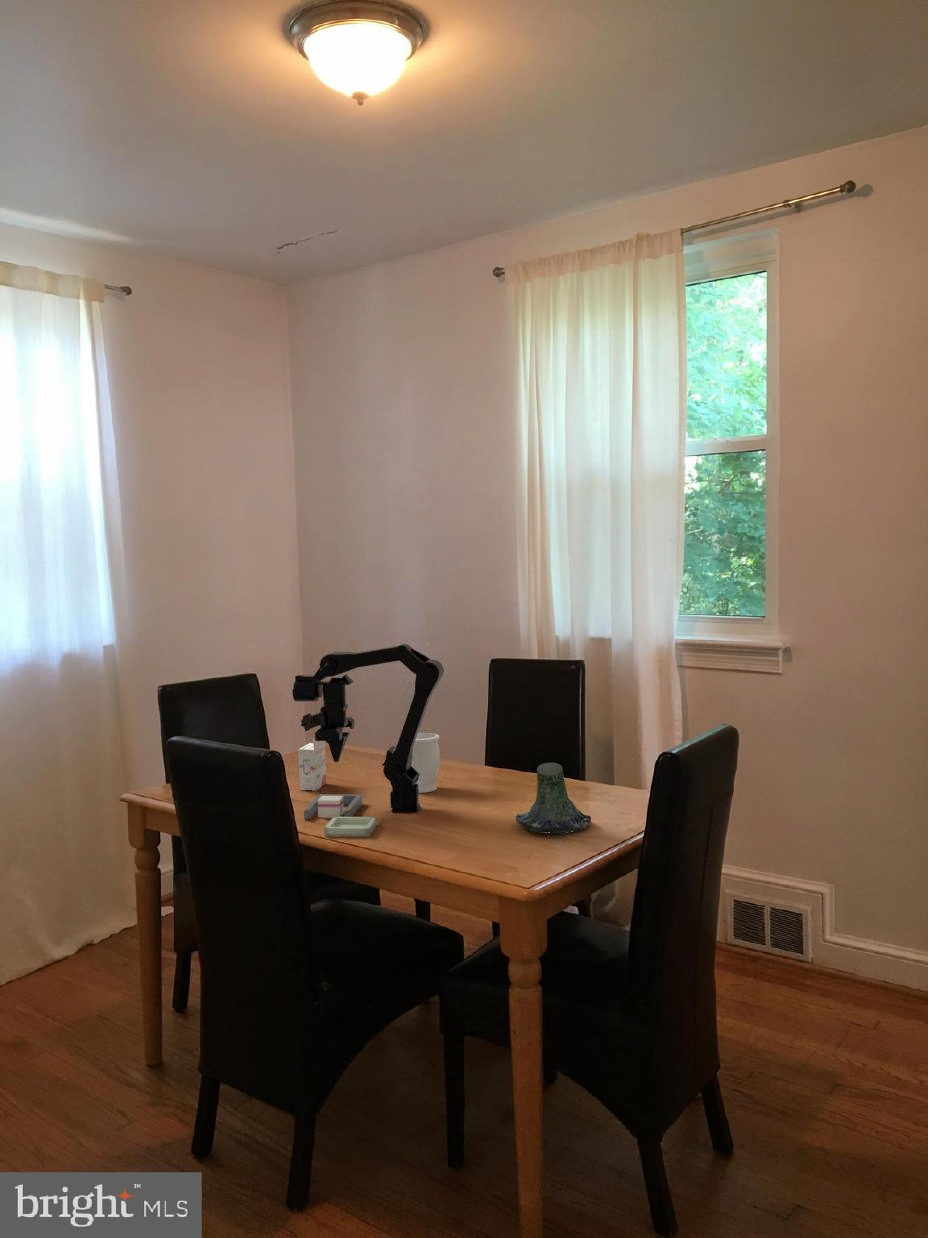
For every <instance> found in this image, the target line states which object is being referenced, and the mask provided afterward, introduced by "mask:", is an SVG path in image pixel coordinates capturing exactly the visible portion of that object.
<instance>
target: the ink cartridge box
mask: <svg viewBox="0 0 928 1238" xmlns="http://www.w3.org/2000/svg"><path fill="white" fill-rule="evenodd" d="M297 751H298V768H299V785H300V786H299V788H300V789H299V790H300V791H306V790H312V791H313V792H315V791H318V790H319V789H321V788H322V787H323V786H324V785H326V783H327V779H326V778H327V769H326V765H327V764H326V744H325V741H315V737H313V738H312V742H309V743H307V744H305V745H304V746H301V748H298V750H297ZM312 791H311V792H312Z"/></svg>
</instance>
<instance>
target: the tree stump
mask: <svg viewBox="0 0 928 1238" xmlns="http://www.w3.org/2000/svg"><path fill="white" fill-rule="evenodd" d="M565 782H566V780H565V777H564V769H563V766H562V765H561V764H559V763H557V762H546V763H545V762H544V763H541V764H540V765H538V766H537V769H536V783H537V784H536V796H535V801H534V802H533V804H532V805H531V807H530V809H529V811H528V812H526V813H522V814H521V813H517V814H516V816H515V820H516V822H517V823H518V824H519V825H520V826H521V827H522V828H523V827H524V828H523V829H525V828H526V829H525V830H527V831H528V830H529V832H530V831H531V833H532V832H547V833H548V832H550V833H566V832H571V831H577V832H579V831H578V830H581V829H584V830H585V828H586V827H588V828H589V825H590V824H591V823H592V816H591V815H588V814H584V813H583V812H581V810H579V809H578V808H577V807H576V805H575V803H574V802H573V801H572V800H571V799H570V798H569V795H568V792H567V791H568V790H567V786H566V783H565ZM586 829H587V828H586ZM581 831H582V830H581ZM547 833H546V834H547Z"/></svg>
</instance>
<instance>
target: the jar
mask: <svg viewBox="0 0 928 1238" xmlns="http://www.w3.org/2000/svg"><path fill="white" fill-rule="evenodd" d="M439 740H440V735H439V734H437V733H430V732H418V733H417V736H416V739H415V742H414V745H413V757H412V763H411V766H412V767H413V768H414V769H415V770H416V771H417V772H418V773H419V774H420V776H419V779H418V781H417V782H416V783H415V784H418V792H419V794H425V793H426V794H427V793H432V792H434V791H436V790H437V788H438V787H437V785H436V781H437V780H438V776H439V769H440V763H441V761H440V760H441V753H440V751H441V750H440V747H439V743H438V741H439Z"/></svg>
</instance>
